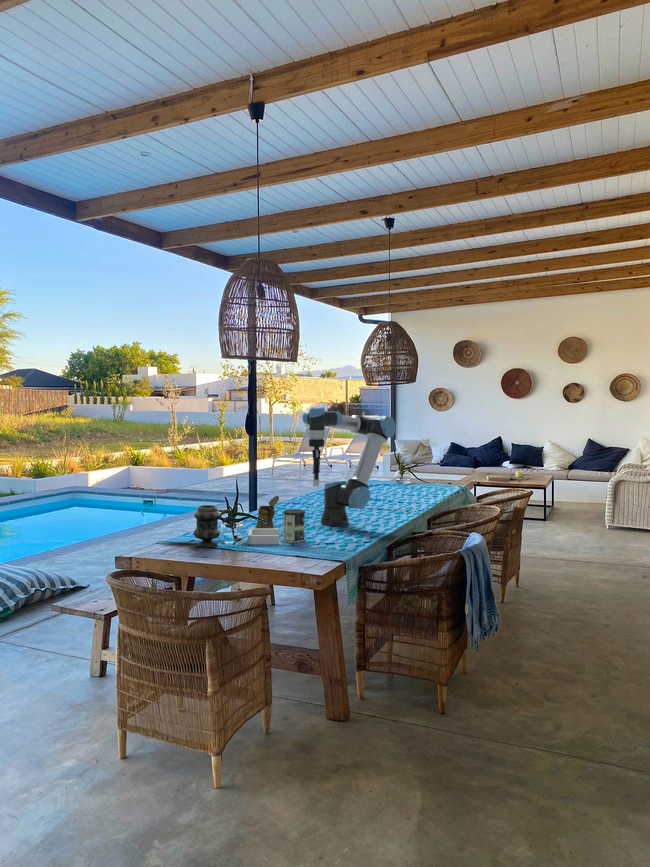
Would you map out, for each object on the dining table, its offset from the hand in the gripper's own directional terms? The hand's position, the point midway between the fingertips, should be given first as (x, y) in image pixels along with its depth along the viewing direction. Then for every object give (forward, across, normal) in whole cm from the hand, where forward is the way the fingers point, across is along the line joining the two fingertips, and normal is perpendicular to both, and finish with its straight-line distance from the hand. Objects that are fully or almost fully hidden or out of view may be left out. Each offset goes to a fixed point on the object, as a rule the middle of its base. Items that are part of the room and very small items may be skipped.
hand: (316, 485), depth 307 cm
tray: (+24, +12, -24) cm, 37 cm away
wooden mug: (+25, -15, -24) cm, 38 cm away
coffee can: (+25, +12, -11) cm, 30 cm away
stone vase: (+25, +21, -51) cm, 60 cm away
